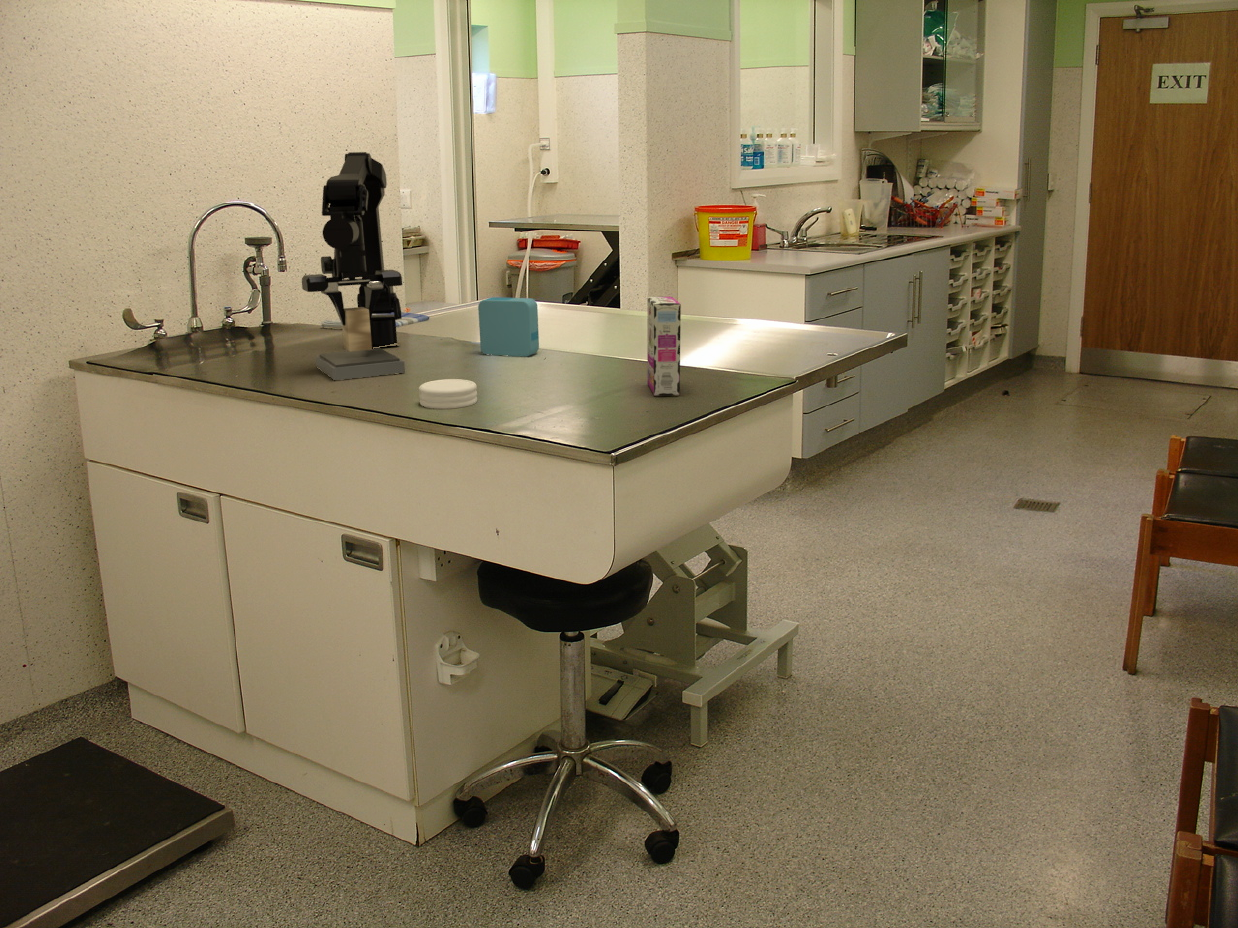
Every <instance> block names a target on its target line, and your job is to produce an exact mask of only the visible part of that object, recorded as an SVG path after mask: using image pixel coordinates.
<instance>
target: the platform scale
mask: <svg viewBox="0 0 1238 928" xmlns="http://www.w3.org/2000/svg"><path fill="white" fill-rule="evenodd" d="M316 366H317V367H318V368H320V369H321V370H322V371H323V372H325V373H326V374H327V375H329V376H330V377H331V378H332V379H333V380H332V379H331V378H330V379H331V380H332V381H334V380H341V379H350V380H353V379H352V378H359V379H362V378H361V377H369V378H371V377H370V376H378V377H380V376H379V375H386V374H395V373H405V374H406V371H405V369H406V368H405V361H404V360H403V359H401V358H399V357H398V356H395V355H394V354H392V353H390V352H388V351H386V350H385V349H383V348H374V349H372V350H361V351H351V352H349V351H348V350H345V351H343V350H342V351H335V352H334V351H333V352H324V353H323V352H322V353H319V354H318V355H315V367H316ZM323 372H322V373H323ZM327 375H326V376H327ZM341 381H342V380H341Z"/></svg>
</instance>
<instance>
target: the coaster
mask: <svg viewBox="0 0 1238 928" xmlns="http://www.w3.org/2000/svg"><path fill="white" fill-rule="evenodd" d="M477 387H478V386H477V383H475V382H474V381H471V380H469V379H468V380H467V379H460V378H459V379H457V378H447V379H446V378H445V379H437V380H431V381H426V382H423V383H422V384H421V385H420V386H419V387H418V391H419V394H418V397H419V404H420V406H422V407H423V406H424V407H423V408H427V409H433V408H434V410H437V409H438V410H448V409H449V410H450V409H461V408H465V407H469V406H473V405H475V404H476V403H477V402H478V397H477V394H478V392H477Z"/></svg>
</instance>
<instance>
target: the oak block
mask: <svg viewBox="0 0 1238 928" xmlns="http://www.w3.org/2000/svg"><path fill="white" fill-rule="evenodd" d="M344 312H345V325H342V329H343V330H342V337H343V338H342V339H343V349H345V351H349V352H351V351H361V350H372V343H371V330H370V318H369V309H366V308H364V307H358V306H357V307H348V308H344Z"/></svg>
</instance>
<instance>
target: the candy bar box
mask: <svg viewBox="0 0 1238 928" xmlns="http://www.w3.org/2000/svg"><path fill="white" fill-rule="evenodd" d="M681 306H682V304H681V302H679V301H678V300H676V298H674V297H673V296H648V297H647V315H646V316H647V330H646V331H647V340H646V341H647V347H646V348H647V351H646V352H647V356H646V357H647V358H646V359H647V386H648V388H649V389H650V391H651V393H652V395H653V396H654V397H676V396H677V397H678V396H681V315H682V314H681V313H682V311H681V310H682V309H681V308H682V307H681Z"/></svg>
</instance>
